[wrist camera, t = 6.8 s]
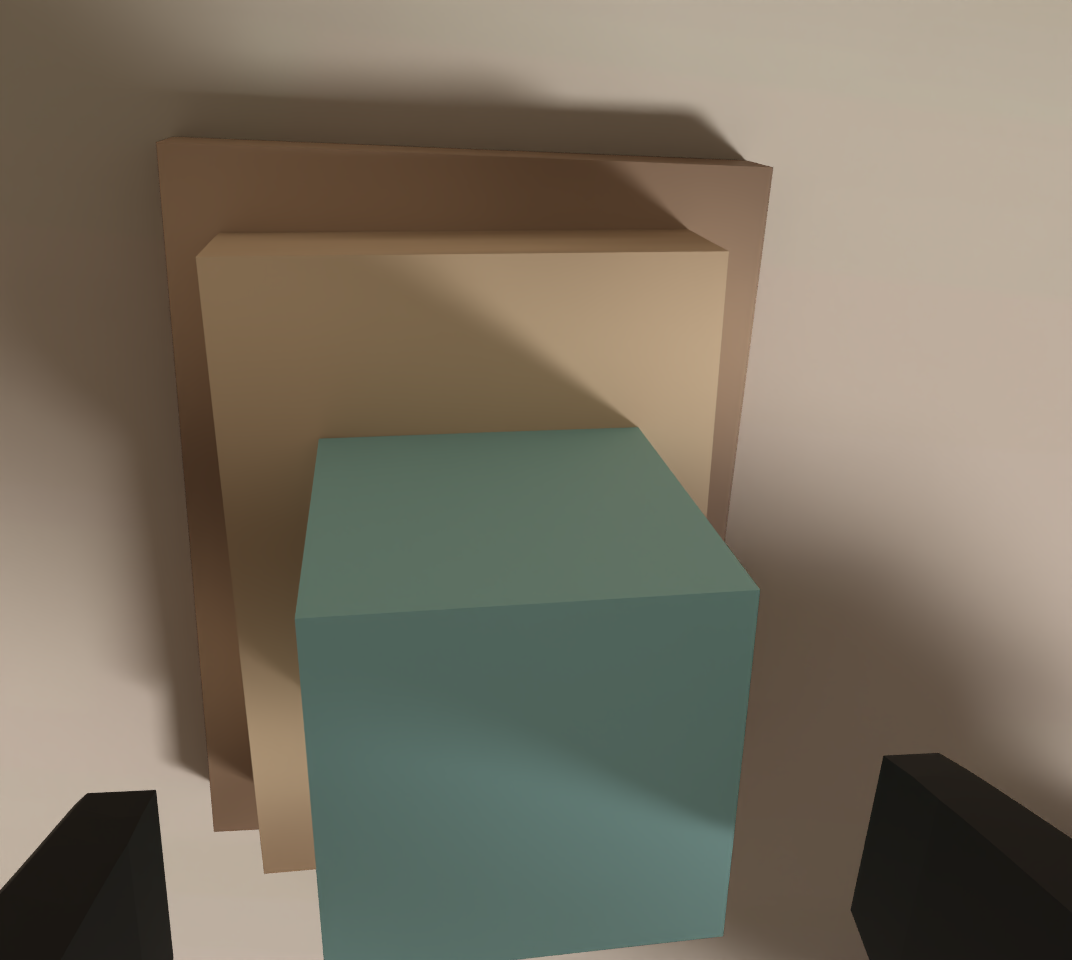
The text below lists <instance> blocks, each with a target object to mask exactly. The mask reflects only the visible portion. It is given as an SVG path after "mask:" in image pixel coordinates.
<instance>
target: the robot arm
mask: <svg viewBox="0 0 1072 960" xmlns="http://www.w3.org/2000/svg"><path fill="white" fill-rule="evenodd" d="M851 912H852V915H853V917H854V920H855V923H856V925H857V928H858V931H859V933H860V936H861V939H862V941H863V944H864V947H865V949H866V952H867V955H868V957H869V960H1072V839H1071V838H1070V837H1068V836H1067V835H1065V834H1064V833H1062V832H1061V831H1059V830H1058V829H1056V828H1055V827H1053V826H1052V825H1050V824H1049V823H1047V822H1046V821H1044V820H1043V819H1041V818H1040V817H1039V816H1037V815H1036V814H1034V813H1033V812H1031V811H1030V810H1028V809H1027V808H1025V807H1024V806H1022V805H1021V804H1019V803H1018V802H1016V801H1015V800H1013V799H1011V798H1010V797H1008V796H1007V795H1005V794H1004V793H1002V792H1001V791H999V790H998V789H996V788H995V787H993V786H992V785H990V784H989V783H987V782H986V781H984V780H982V779H981V778H979V777H978V776H976V775H975V774H973V773H971V772H970V771H968V770H967V769H965V768H963V767H962V766H960V765H958V764H957V763H955V762H953V761H952V760H950V759H948V758H946V757H945V756H943V755H941V754H939V753H930V754H909V755H887V756H883V761H882V765H881V770H880V775H879V780H878V784H877V789H876V794H875V798H874V803H873V808H872V812H871V817H870V822H869V826H868V831H867V836H866V840H865V845H864V850H863V854H862V859H861V864H860V869H859V873H858V878H857V883H856V887H855V892H854V897H853V901H852V906H851ZM0 960H173V949H172V940H171V930H170V920H169V911H168V901H167V891H166V882H165V872H164V862H163V853H162V843H161V833H160V824H159V814H158V804H157V795H156V790H146V791H125V792H104V793H87V794H86V795H85V796H84V797H83V798H82V799H81V800H79V801H78V802H77V803H76V804H75V805H74V806H73V808H72V809H71V810H70V811H69V812H68V813H67V814H66V816H65V817H64V818H63V819H62V820H61V821H60V822H59V824H58V825H57V826H56V827H55V828H54V829H53V830H52V832H51V833H50V834H49V835H48V836H47V837H46V839H45V840H44V841H43V842H42V843H41V844H40V845H39V847H38V848H37V849H36V850H35V851H34V852H33V854H32V855H31V856H30V857H29V858H28V859H27V860H26V862H25V863H24V864H23V865H22V866H21V867H20V868H19V870H18V871H17V872H16V873H15V874H14V875H13V876H12V877H11V879H10V880H9V881H8V882H7V883H6V884H5V885H4V886H3V888H2V889H1V890H0Z"/></svg>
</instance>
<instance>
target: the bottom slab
mask: <svg viewBox="0 0 1072 960" xmlns="http://www.w3.org/2000/svg"><path fill="white" fill-rule="evenodd" d="M156 148H157V160H158V172H159V184H160V196H161V208H162V219H163V231H164V243H165V255H166V267H167V279H168V291H169V303H170V315H171V327H172V338H173V350H174V362H175V374H176V386H177V398H178V410H179V422H180V434H181V445H182V457H183V469H184V481H185V493H186V505H187V517H188V529H189V541H190V553H191V564H192V576H193V588H194V600H195V612H196V624H197V636H198V648H199V660H200V671H201V683H202V695H203V707H204V719H205V731H206V743H207V755H208V767H209V778H210V790H211V802H212V814H213V826H214V832H219V831H238V830H256V829H259V823H258V814H257V805H256V796H255V787H254V778H253V769H252V760H251V751H250V742H249V733H248V724H247V715H246V706H245V697H244V688H243V679H242V670H241V661H240V652H239V643H238V634H237V625H236V616H235V607H234V598H233V589H232V579H231V570H230V561H229V552H228V543H227V534H226V525H225V516H224V507H223V498H222V489H221V480H220V471H219V462H218V453H217V444H216V435H215V426H214V417H213V408H212V399H211V390H210V381H209V372H208V363H207V354H206V345H205V336H204V327H203V318H202V309H201V300H200V291H199V282H198V273H197V264H196V256H197V255H198V254H199V253H200V252H201V251H202V250H203V249H204V248H205V247H206V246H207V244H208V243H209V242H210V241H211V240H212V239H213V238H214V237H215V236H216V235H217V234H218V233H260V232H394V231H528V230H663V229H689V230H690V231H692V232H694V233H696V234H698V235H700V236H701V237H703V238H705V239H707V240H709V241H711V242H713V243H714V244H716V245H718V246H720V247H722V248H724V249H726V250H727V251H729V256H728V268H727V280H726V292H725V304H724V316H723V328H722V340H721V352H720V364H719V375H718V387H717V399H716V411H715V423H714V435H713V447H712V459H711V471H710V483H709V495H708V507H707V520H708V521H709V522H710V524H711V525H712V526H713V528H714V529H715V530H716V532H717V533H718V534H719V536H720V537H721V538H722V540H723V541H724V542H725V534H726V527H727V519H728V511H729V503H730V496H731V488H732V480H733V473H734V465H735V457H736V450H737V442H738V434H739V426H740V419H741V411H742V403H743V396H744V388H745V380H746V373H747V365H748V357H749V349H750V342H751V334H752V326H753V319H754V311H755V303H756V295H757V288H758V280H759V272H760V265H761V257H762V249H763V242H764V234H765V226H766V218H767V211H768V203H769V195H770V188H771V180H772V172H773V167H769V166H765V165H762V164H758V163H754V162H750V161H746V160H725V159H701V158H677V157H653V156H629V155H605V154H580V153H556V152H532V151H508V150H484V149H460V148H435V147H411V146H387V145H363V144H339V143H315V142H290V141H266V140H242V139H218V138H194V137H170V138H167V139H164V140H161V141H158V142H156Z"/></svg>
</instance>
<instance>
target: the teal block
mask: <svg viewBox="0 0 1072 960" xmlns="http://www.w3.org/2000/svg"><path fill="white" fill-rule="evenodd" d="M759 596H760V589H759V588H758V586H757V585H756V584H755V582H754V581H753V580H752V578H751V577H750V576H749V574H748V573H747V572H746V570H745V569H744V568H743V566H742V565H741V564H740V562H739V561H738V560H737V558H736V557H735V556H734V554H733V553H732V552H731V550H730V549H729V548H728V546H727V545H726V544H725V542H724V541H723V540H722V538H721V537H720V536H719V534H718V533H717V532H716V530H715V529H714V528H713V526H712V525H711V524H710V522H709V521H708V520H707V518H706V517H705V516H704V514H703V513H702V512H701V510H700V509H699V508H698V506H697V505H696V504H695V502H694V501H693V500H692V498H691V497H690V496H689V494H688V493H687V492H686V490H685V489H684V488H683V486H682V485H681V484H680V482H679V481H678V480H677V478H676V477H675V475H674V474H673V473H672V471H671V470H670V469H669V467H668V466H667V465H666V463H665V462H664V461H663V459H662V458H661V457H660V455H659V454H658V453H657V451H656V450H655V449H654V447H653V446H652V445H651V443H650V442H649V441H648V439H647V438H646V437H645V435H644V434H643V433H642V431H641V430H640V429H639V427H629V428H599V429H570V430H541V431H511V432H482V433H456V434H429V435H402V436H376V437H349V438H322V439H319V441H318V449H317V456H316V464H315V471H314V478H313V486H312V493H311V501H310V508H309V516H308V523H307V531H306V538H305V546H304V553H303V561H302V568H301V576H300V583H299V590H298V598H297V605H296V613H295V628H296V640H297V651H298V663H299V675H300V686H301V698H302V710H303V722H304V733H305V745H306V757H307V768H308V780H309V792H310V803H311V815H312V827H313V838H314V850H315V862H316V873H317V885H318V897H319V909H320V920H321V932H322V944H323V955H324V960H517V959H526V958H535V957H544V956H553V955H562V954H570V953H579V952H588V951H597V950H606V949H615V948H624V947H632V946H641V945H650V944H659V943H668V942H677V941H686V940H695V939H703V938H712V937H721V936H723V933H724V923H725V914H726V905H727V895H728V886H729V877H730V867H731V858H732V849H733V839H734V830H735V821H736V811H737V802H738V793H739V783H740V774H741V764H742V755H743V746H744V736H745V727H746V718H747V708H748V699H749V690H750V680H751V671H752V662H753V652H754V643H755V634H756V624H757V615H758V605H759Z"/></svg>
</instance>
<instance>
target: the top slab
mask: <svg viewBox="0 0 1072 960" xmlns="http://www.w3.org/2000/svg"><path fill="white" fill-rule="evenodd" d="M728 256H729V251H727V250H726V249H724V248H722V247H720V246H718V245H716V244H714V243H713V242H711V241H709V240H707V239H705V238H703V237H701V236H700V235H698V234H696V233H694V232H692V231H690V230H689V229H663V230H528V231H394V232H260V233H218V234H217V235H216V236H215V237H214V238H213V239H212V240H211V241H210V242H209V243H208V244H207V246H206V247H205V248H204V249H203V250H202V251H201V252H200V253H199V254H198V255H197V256H196V264H197V273H198V282H199V291H200V300H201V309H202V318H203V327H204V336H205V345H206V354H207V363H208V372H209V381H210V390H211V399H212V408H213V417H214V426H215V435H216V444H217V453H218V462H219V471H220V480H221V489H222V498H223V507H224V516H225V525H226V534H227V543H228V552H229V561H230V570H231V579H232V589H233V598H234V607H235V616H236V625H237V634H238V643H239V652H240V661H241V670H242V679H243V688H244V697H245V706H246V715H247V724H248V733H249V742H250V751H251V760H252V769H253V778H254V787H255V796H256V805H257V814H258V823H259V832H260V841H261V850H262V859H263V868H264V874H267V873H278V872H289V871H300V870H312V869H316V862H315V850H314V838H313V827H312V815H311V803H310V792H309V780H308V768H307V757H306V745H305V733H304V722H303V710H302V698H301V686H300V675H299V663H298V651H297V640H296V628H295V613H296V605H297V598H298V590H299V583H300V576H301V568H302V561H303V553H304V546H305V538H306V531H307V523H308V516H309V508H310V501H311V493H312V486H313V478H314V471H315V464H316V456H317V449H318V441H319V439H322V438H349V437H376V436H402V435H429V434H456V433H482V432H511V431H541V430H570V429H599V428H629V427H639V429H640V430H641V431H642V433H643V434H644V435H645V437H646V438H647V439H648V441H649V442H650V443H651V445H652V446H653V447H654V449H655V450H656V451H657V453H658V454H659V455H660V457H661V458H662V459H663V461H664V462H665V463H666V465H667V466H668V467H669V469H670V470H671V471H672V473H673V474H674V475H675V477H676V478H677V480H678V481H679V482H680V484H681V485H682V486H683V488H684V489H685V490H686V492H687V493H688V494H689V496H690V497H691V498H692V500H693V501H694V502H695V504H696V505H697V506H698V508H699V509H700V510H701V512H702V513H703V514H704V516H705V517H706V518H707V507H708V495H709V483H710V471H711V459H712V447H713V435H714V423H715V411H716V399H717V387H718V375H719V364H720V352H721V340H722V328H723V316H724V304H725V292H726V280H727V268H728Z"/></svg>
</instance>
